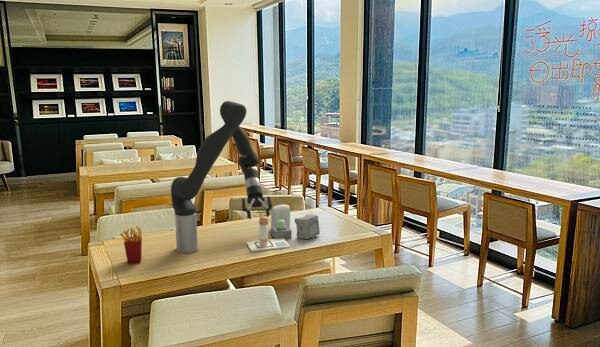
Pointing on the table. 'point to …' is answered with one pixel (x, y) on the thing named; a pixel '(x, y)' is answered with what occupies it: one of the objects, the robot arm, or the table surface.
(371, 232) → the table surface
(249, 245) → the sheet
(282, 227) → the button
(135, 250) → the french fries
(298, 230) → the grey stone block
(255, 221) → the table surface
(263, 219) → the marker
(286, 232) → the button housing
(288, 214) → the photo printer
